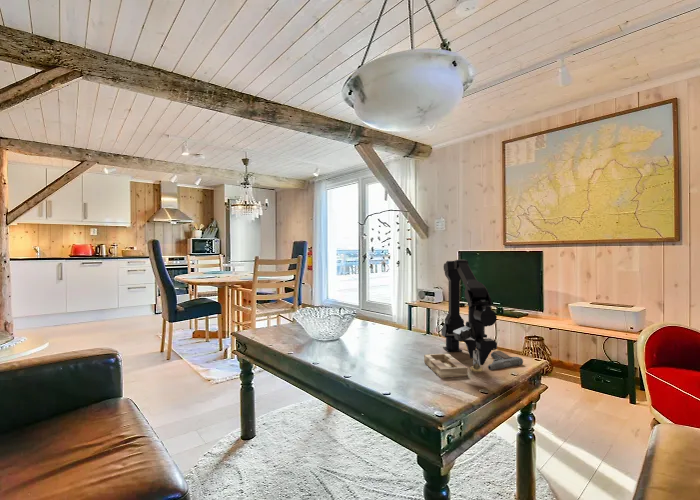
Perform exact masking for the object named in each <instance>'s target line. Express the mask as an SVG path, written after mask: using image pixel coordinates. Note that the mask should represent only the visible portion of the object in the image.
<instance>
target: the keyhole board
mask: <svg viewBox="0 0 700 500" xmlns="http://www.w3.org/2000/svg"><path fill="white" fill-rule="evenodd" d="M423 355H424V358H423V359H424V360H423V361H424V363H425V364H426V366H428V367H429V368H430V369H431V370H432V371H433V372H434V373H436V375H437V376H438V377H439V378H442V379H444V378H457V377H458V378H459V377H461V378H462V377H468V375H469V374H468V370H469V369H468V367H467V366H465V364H463V363H462V362H460V361H459V360H458V359H456V358H455V357H453V356H452V355H451V354H450V353H449V352H448V353H434V354H433V353H431V354H423Z"/></svg>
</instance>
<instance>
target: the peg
mask: <svg viewBox="0 0 700 500" xmlns="http://www.w3.org/2000/svg"><path fill="white" fill-rule="evenodd" d="M469 368H470V371H471V372H472V373H477V374H478V373H483V372H484V368H483V367H482V366H481V365H480V361H479V353H478V350H477V349H476V350H473V360H472V366H470V367H469Z"/></svg>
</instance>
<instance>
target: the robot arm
mask: <svg viewBox="0 0 700 500" xmlns="http://www.w3.org/2000/svg"><path fill="white" fill-rule="evenodd" d="M443 271H444V276H445V277H446V279H447V280H448V313H447V315H446V316H445V318H444V323H443V325H442V328H441V330H440V331H441V335H442V337H444V338H445V346H443V347H442V348H443V349H444V350H445V351H446V352H448V353H453V352H463V349H462V348H461V347H460V342H464V344H465V345H466V346H465V347H466V348H467V352H468V355H469V358H470V359H473V350H478V353H479V361H480V366H484V365H485V363H486V362H487V359H488V357H489V355H491V353H492V352H493V350H497V349H498V342H496V341H495V340H494V339H492V338H491V337H490V338H489V337H488V334H486V331H485V330H486V329H485V327H491V326H492V325H493V326H494V324H495V323H497V319H498V318H497V314H496V313H495V311H494V310H493V309H492V306H493V304H492V303H493V300H492V298H491V295H490V293H489V291H488V289H487V288H486V286H485V285H484V284H483V283H482V282H480V281H478V280H477V278H476V276H475V274H474V273H473V271H472V269H471V267H470V265H469V261H468V260H467V259H456V260H447V261H446V262H445V263H444V264H443ZM461 280H462V283H463V285H464V288H465V289H464V297H465V300H466V301H467V307H468V309H467V310H468V320H467V321H466V322H465V320H464V318H462V316H461V314H460V309H461V308H460V307H461V306H460V302H461V301H460V295H461V293H460V292H461V291H460V290H461V289H460V288H461V287H460V286H461V285H460V284H461Z"/></svg>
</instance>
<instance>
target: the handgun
mask: <svg viewBox="0 0 700 500" xmlns="http://www.w3.org/2000/svg"><path fill="white" fill-rule="evenodd" d="M490 356H491V358H493V360H492V363H490V364H488V366H487V368H488V369H489V370H493V371H494V370H499V369H504V368H505V367H506V368H509V367H510V366H511V367H516V366H521V365H523V364H524V360H523V358H522V357H519V356H511V355H508V354H507V353H505V352H503V351H501V350H495V351H491V352H490Z"/></svg>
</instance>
